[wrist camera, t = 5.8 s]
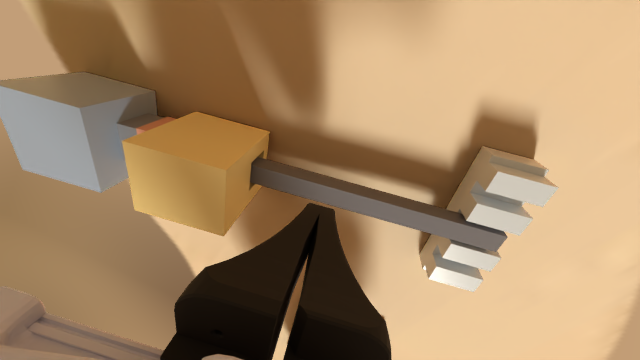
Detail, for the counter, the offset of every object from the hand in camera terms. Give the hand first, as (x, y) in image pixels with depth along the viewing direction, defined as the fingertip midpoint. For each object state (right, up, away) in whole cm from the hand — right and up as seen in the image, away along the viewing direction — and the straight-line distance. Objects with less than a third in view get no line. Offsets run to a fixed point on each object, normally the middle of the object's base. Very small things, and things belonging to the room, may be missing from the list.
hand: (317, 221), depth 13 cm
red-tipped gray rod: (0, +2, +4) cm, 4 cm away
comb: (+10, 0, +4) cm, 11 cm away
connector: (-14, +6, +5) cm, 16 cm away
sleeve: (-6, +4, +5) cm, 9 cm away
